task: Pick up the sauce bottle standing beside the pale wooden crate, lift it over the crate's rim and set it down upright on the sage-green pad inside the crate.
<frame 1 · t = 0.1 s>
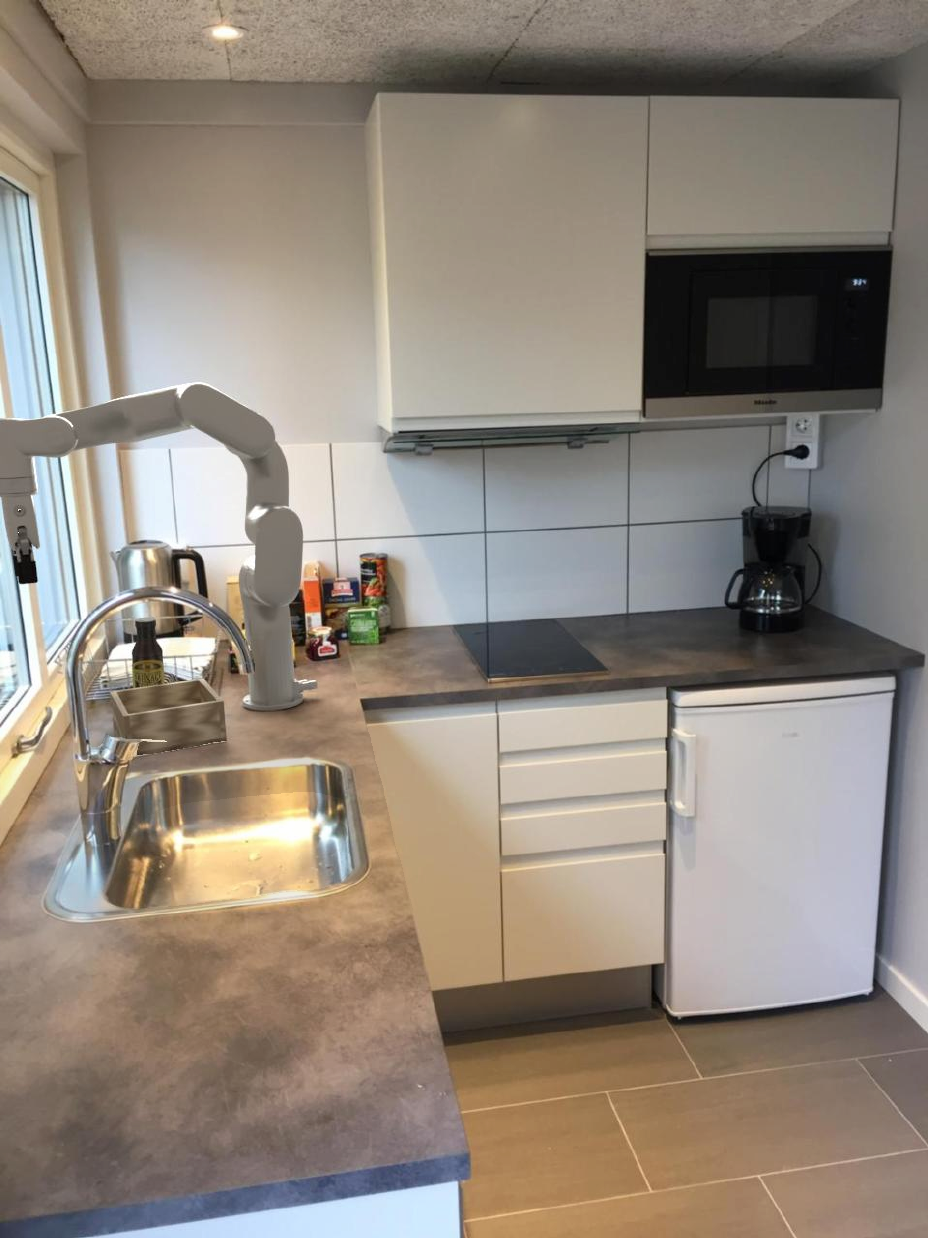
hand: (26, 579, 188), 31 cm above the worktop, tool pointing down, fingers open, 9 cm apart
crate: (169, 736, 194), on the worktop
sauce bottle: (151, 714, 209), on the worktop
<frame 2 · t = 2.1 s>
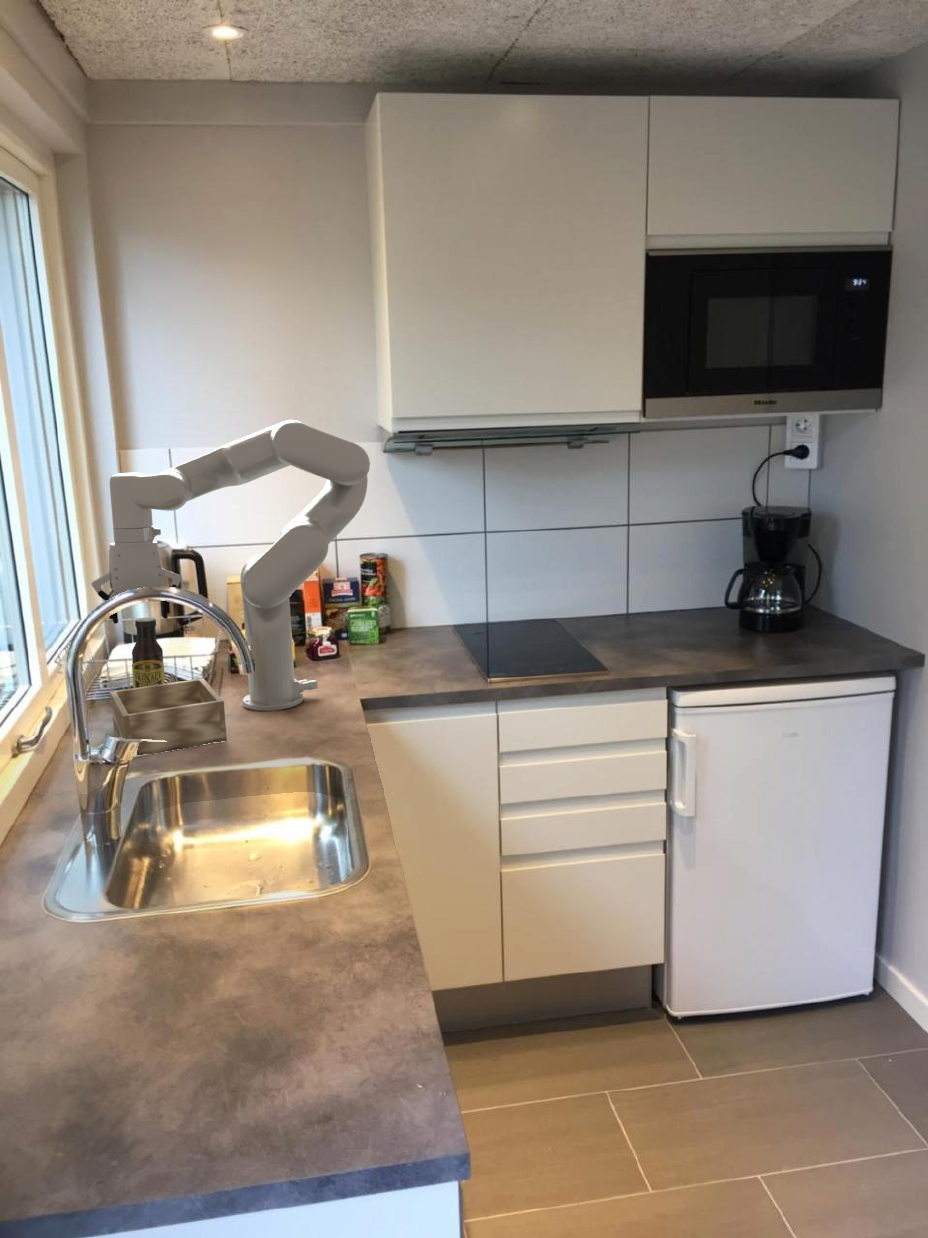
hand: (140, 619, 204), 20 cm above the worktop, tool pointing down, fingers open, 9 cm apart
nothing on the worktop moved.
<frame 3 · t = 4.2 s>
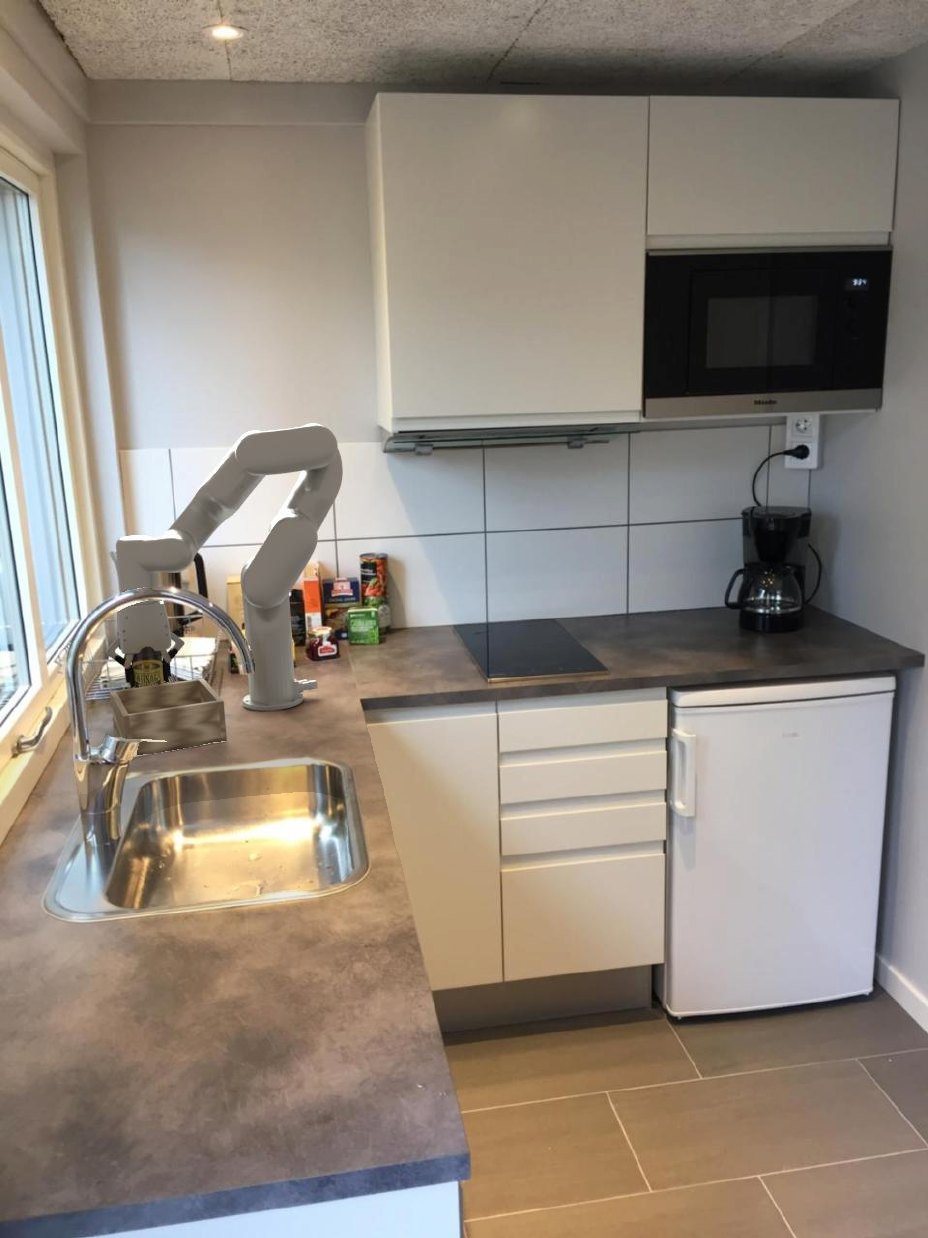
hand: (148, 682, 207), 7 cm above the worktop, tool pointing down, fingers closed on sauce bottle, 6 cm apart
sauce bottle: (151, 713, 209), on the worktop, touching gripper
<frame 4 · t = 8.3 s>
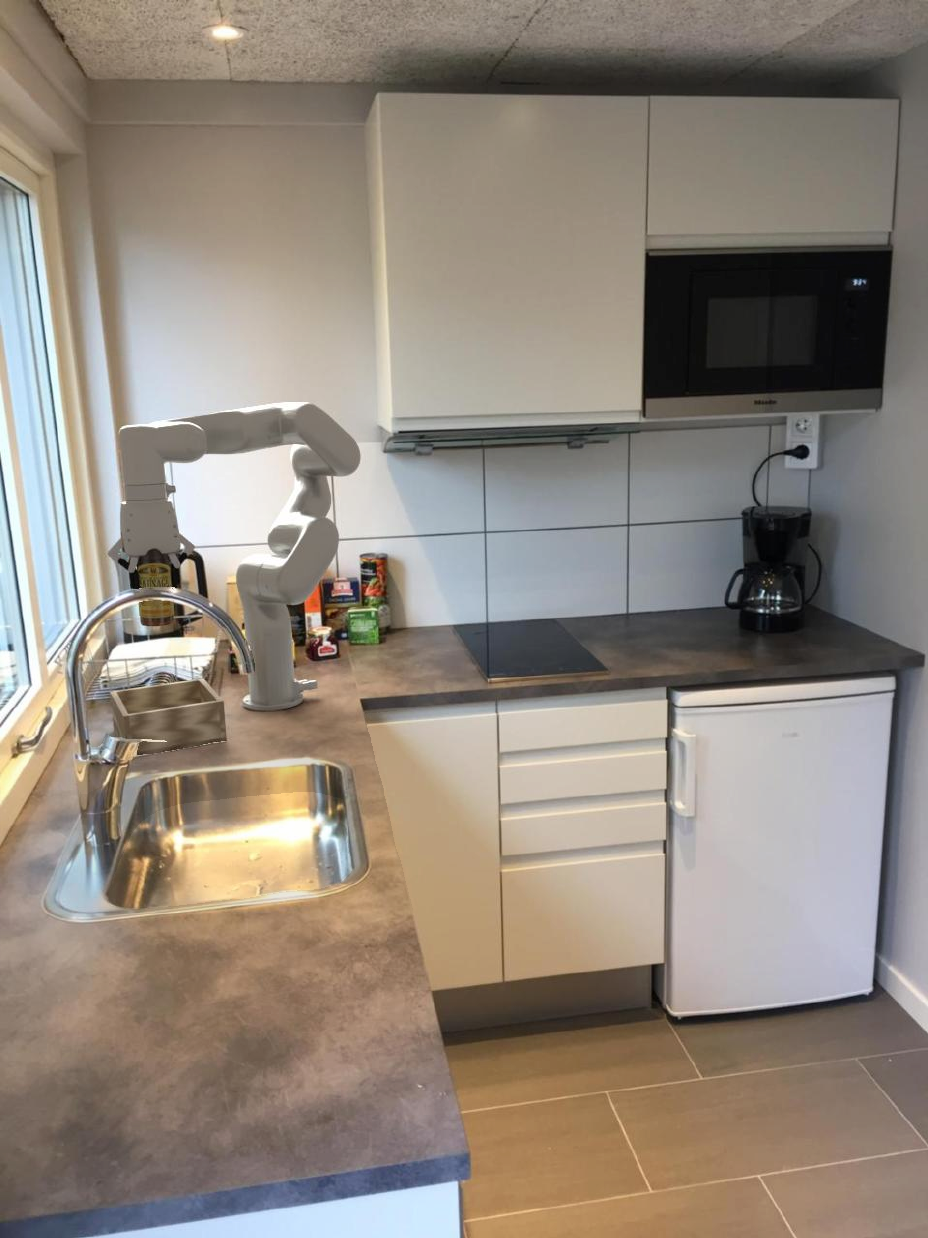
hand: (155, 589, 188), 29 cm above the worktop, tool pointing down, fingers closed on sauce bottle, 6 cm apart
sauce bottle: (158, 625, 189), point 22 cm above the worktop, touching gripper
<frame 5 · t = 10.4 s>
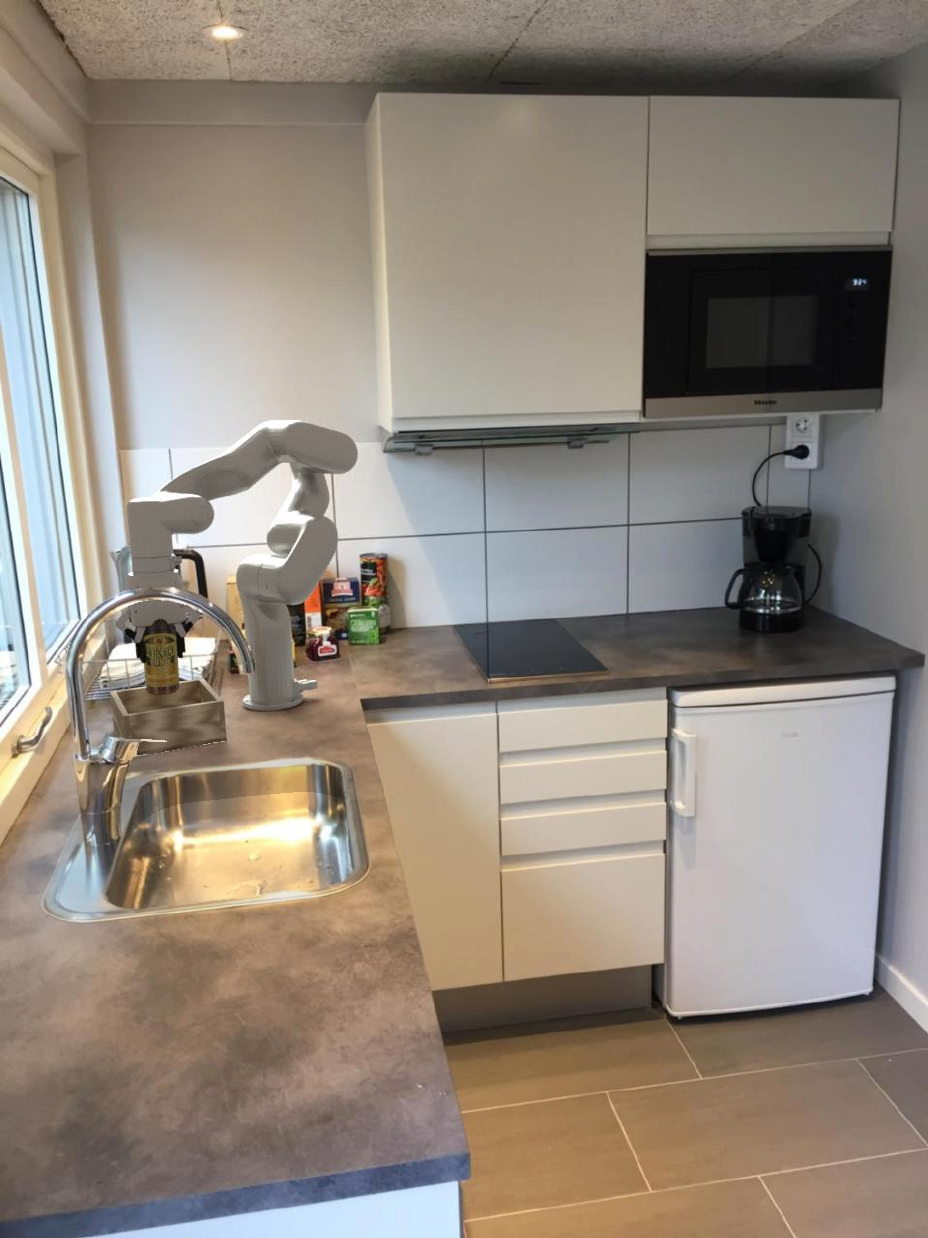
hand: (161, 658, 190), 16 cm above the worktop, tool pointing down, fingers closed on sauce bottle, 6 cm apart
sauce bottle: (164, 692, 192), point 9 cm above the worktop, touching gripper
when the fingers open (9 cm above the worktop, at t = 12.3 s): sauce bottle drops 1 cm, resting on crate.
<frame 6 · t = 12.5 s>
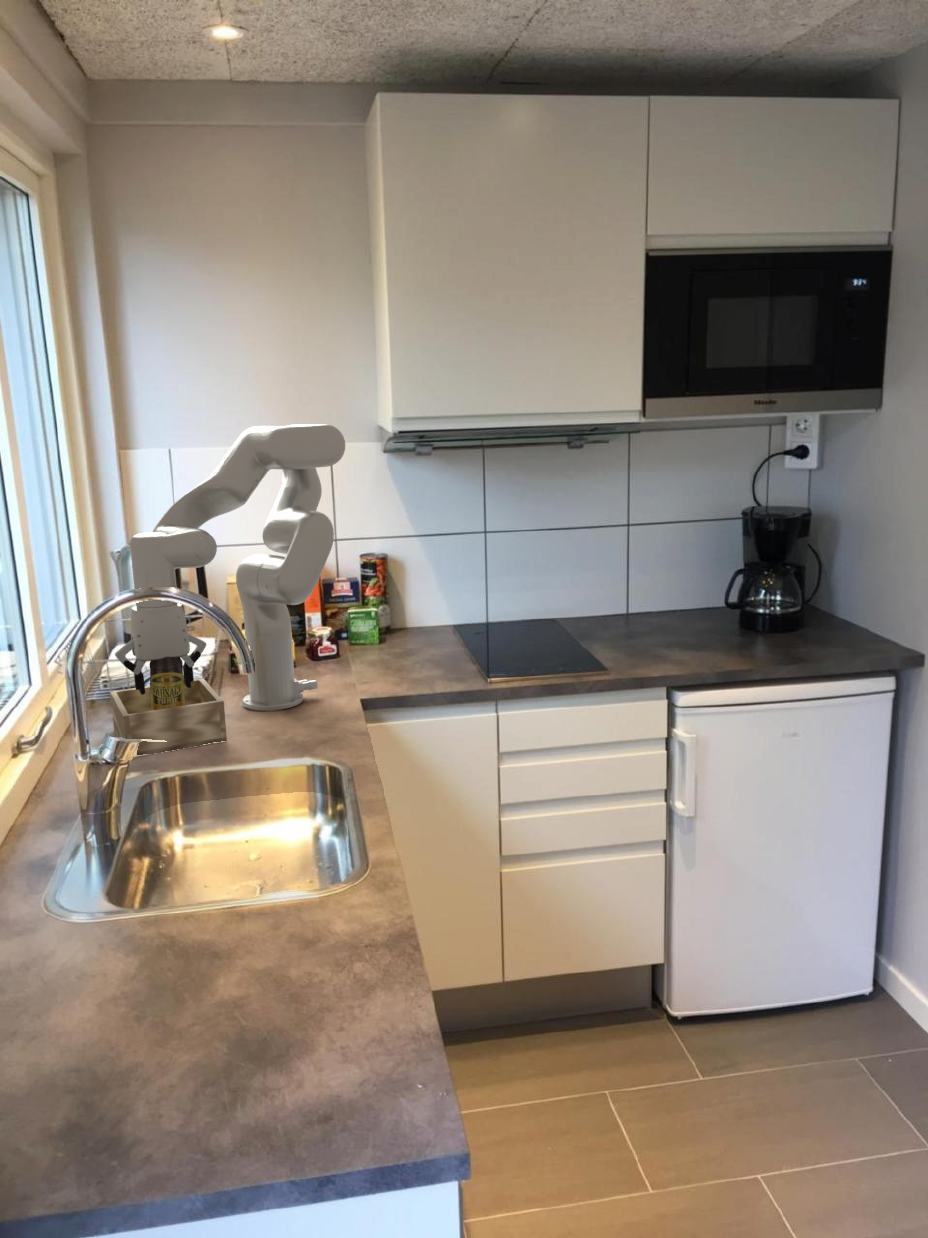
hand: (165, 689, 192), 9 cm above the worktop, tool pointing down, fingers open, 8 cm apart
sauce bottle: (170, 730, 194), point 1 cm above the worktop, touching crate
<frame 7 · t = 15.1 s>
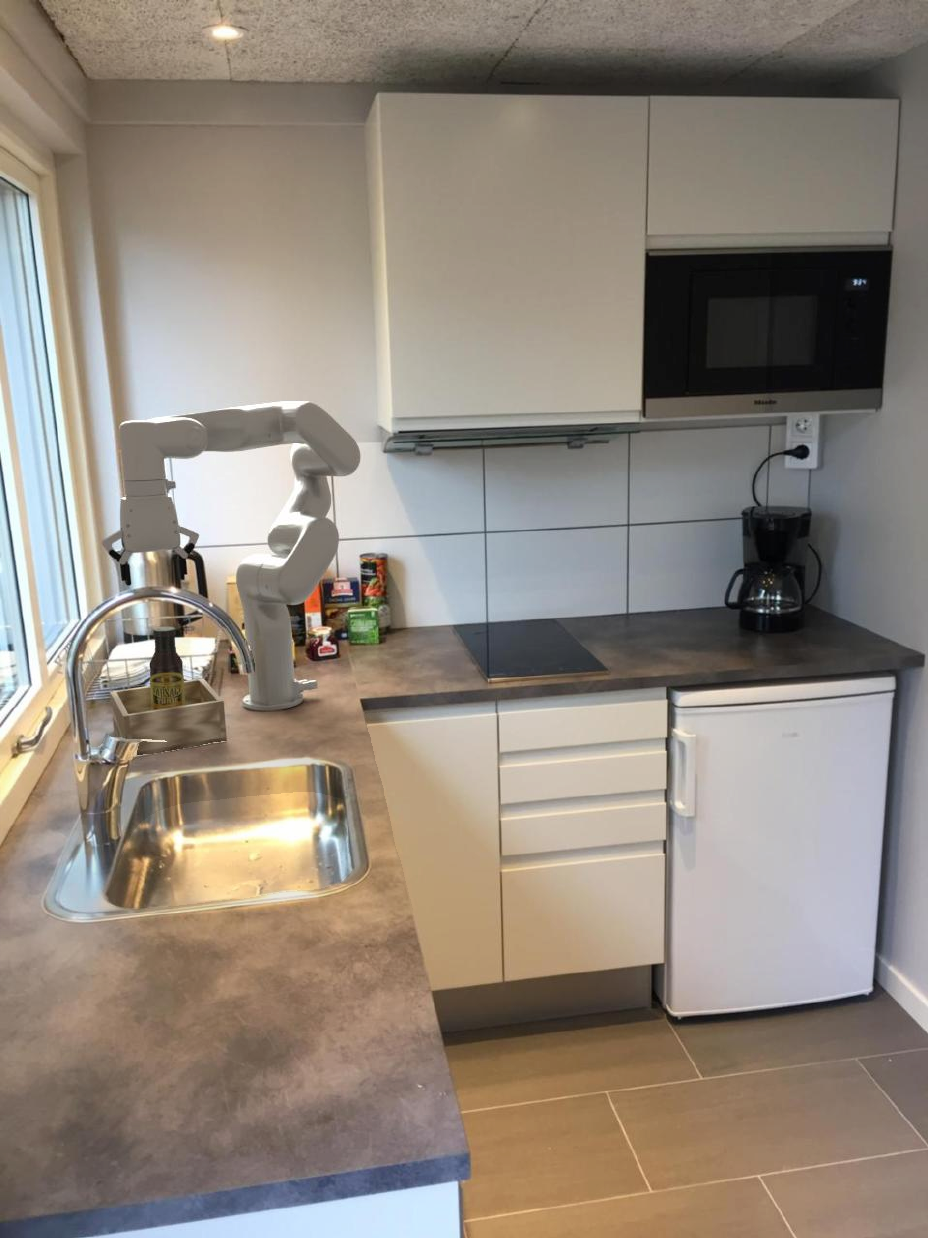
hand: (155, 581, 187), 30 cm above the worktop, tool pointing down, fingers open, 9 cm apart
nothing on the worktop moved.
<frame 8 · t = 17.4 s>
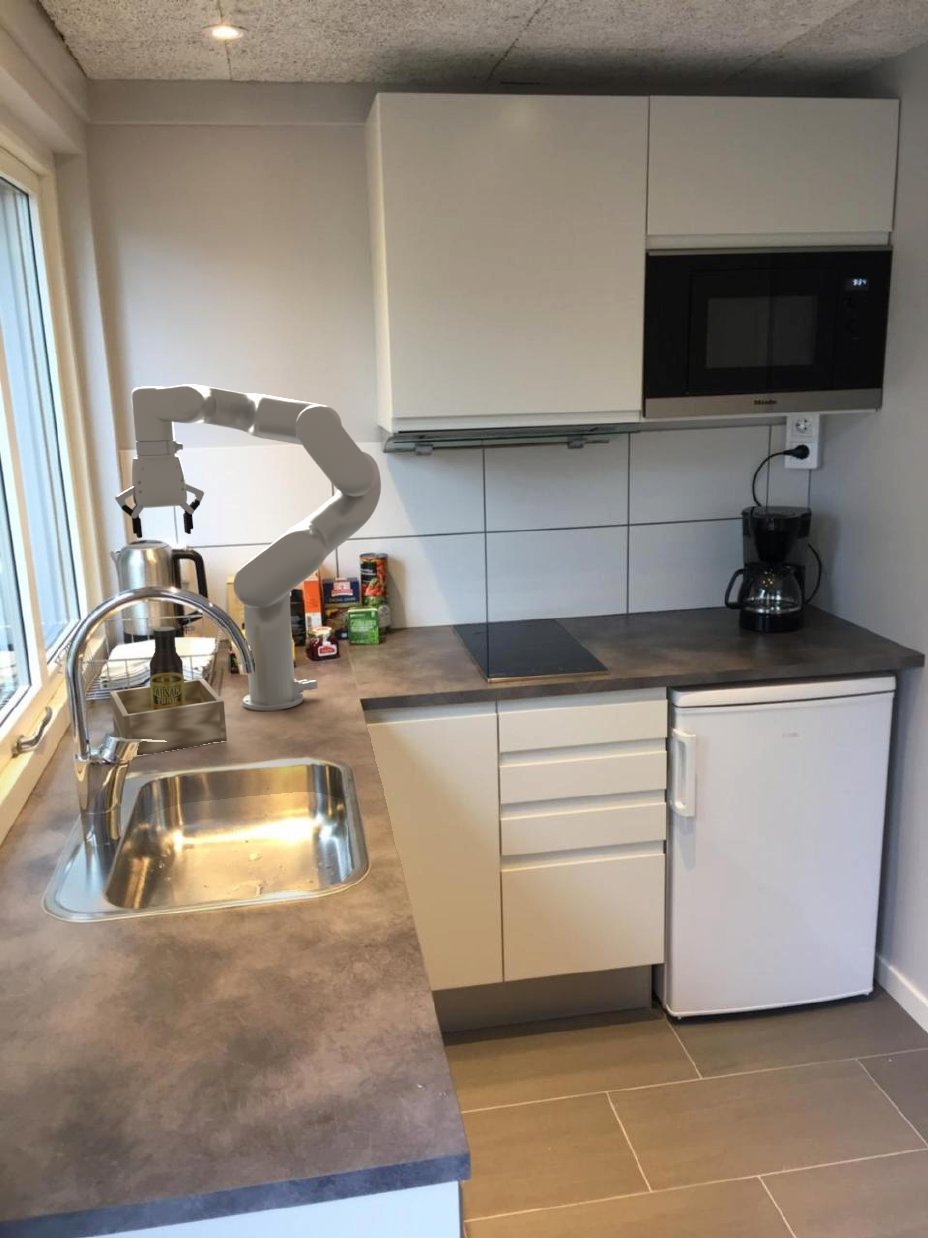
hand: (163, 535, 205), 36 cm above the worktop, tool pointing down, fingers open, 9 cm apart
nothing on the worktop moved.
at the end: sauce bottle inside the target area on the crate (0.4 cm from its centre), point 1.1 cm above the crate's base; sauce bottle tilted 0°; the gripper is holding nothing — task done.
